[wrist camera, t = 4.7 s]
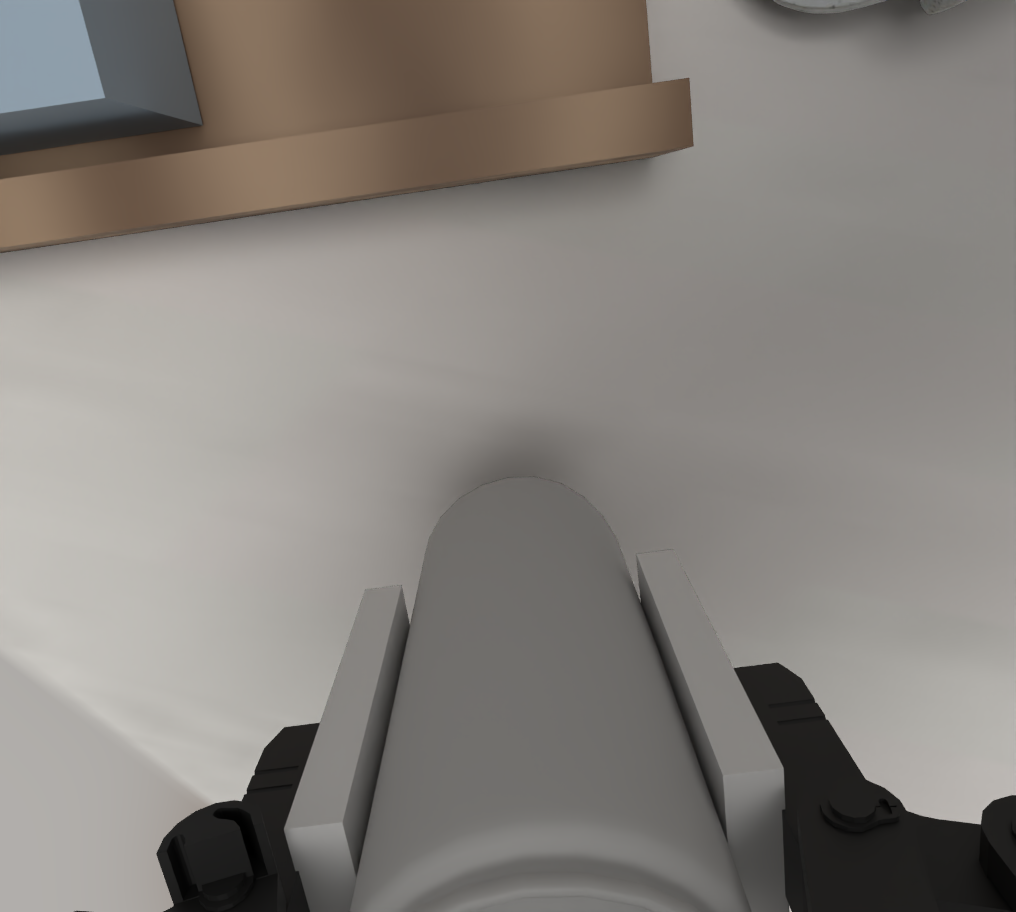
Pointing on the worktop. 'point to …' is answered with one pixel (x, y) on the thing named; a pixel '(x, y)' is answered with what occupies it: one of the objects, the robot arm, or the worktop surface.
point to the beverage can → (537, 731)
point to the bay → (360, 112)
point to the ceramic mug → (858, 5)
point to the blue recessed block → (91, 72)
